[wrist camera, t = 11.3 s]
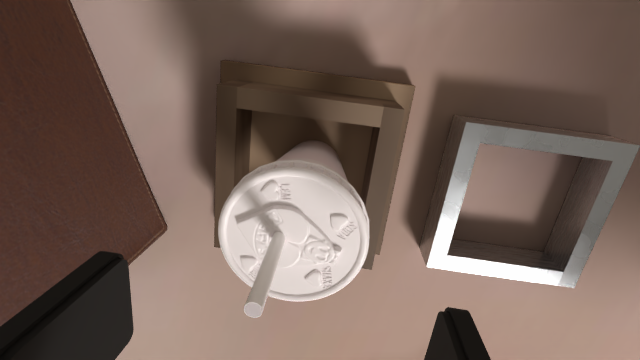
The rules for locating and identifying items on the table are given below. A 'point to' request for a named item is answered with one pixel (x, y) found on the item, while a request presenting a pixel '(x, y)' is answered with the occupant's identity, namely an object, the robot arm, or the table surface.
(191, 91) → the table surface
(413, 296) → the table surface
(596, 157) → the holder
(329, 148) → the smoothie
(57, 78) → the letter holder
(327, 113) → the socket
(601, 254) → the table surface
